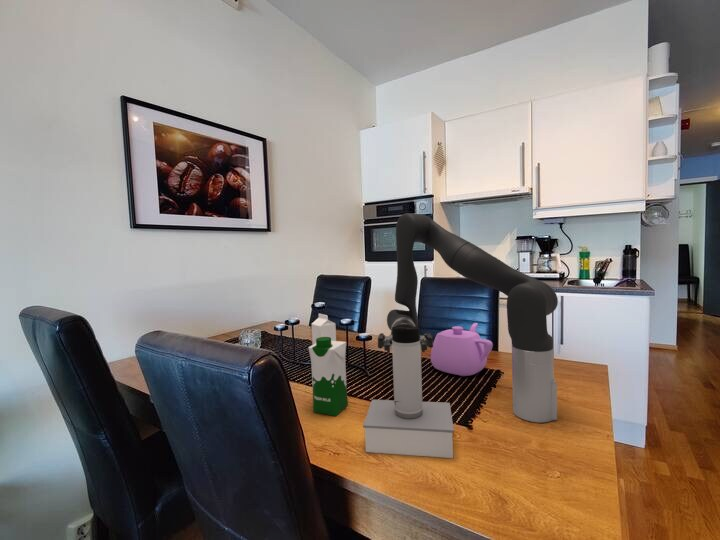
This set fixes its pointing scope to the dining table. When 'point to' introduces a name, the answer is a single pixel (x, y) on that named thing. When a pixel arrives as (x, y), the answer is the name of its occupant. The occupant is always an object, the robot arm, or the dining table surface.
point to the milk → (323, 328)
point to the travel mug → (407, 371)
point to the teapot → (460, 351)
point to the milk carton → (328, 376)
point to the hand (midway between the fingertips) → (405, 348)
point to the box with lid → (409, 430)
